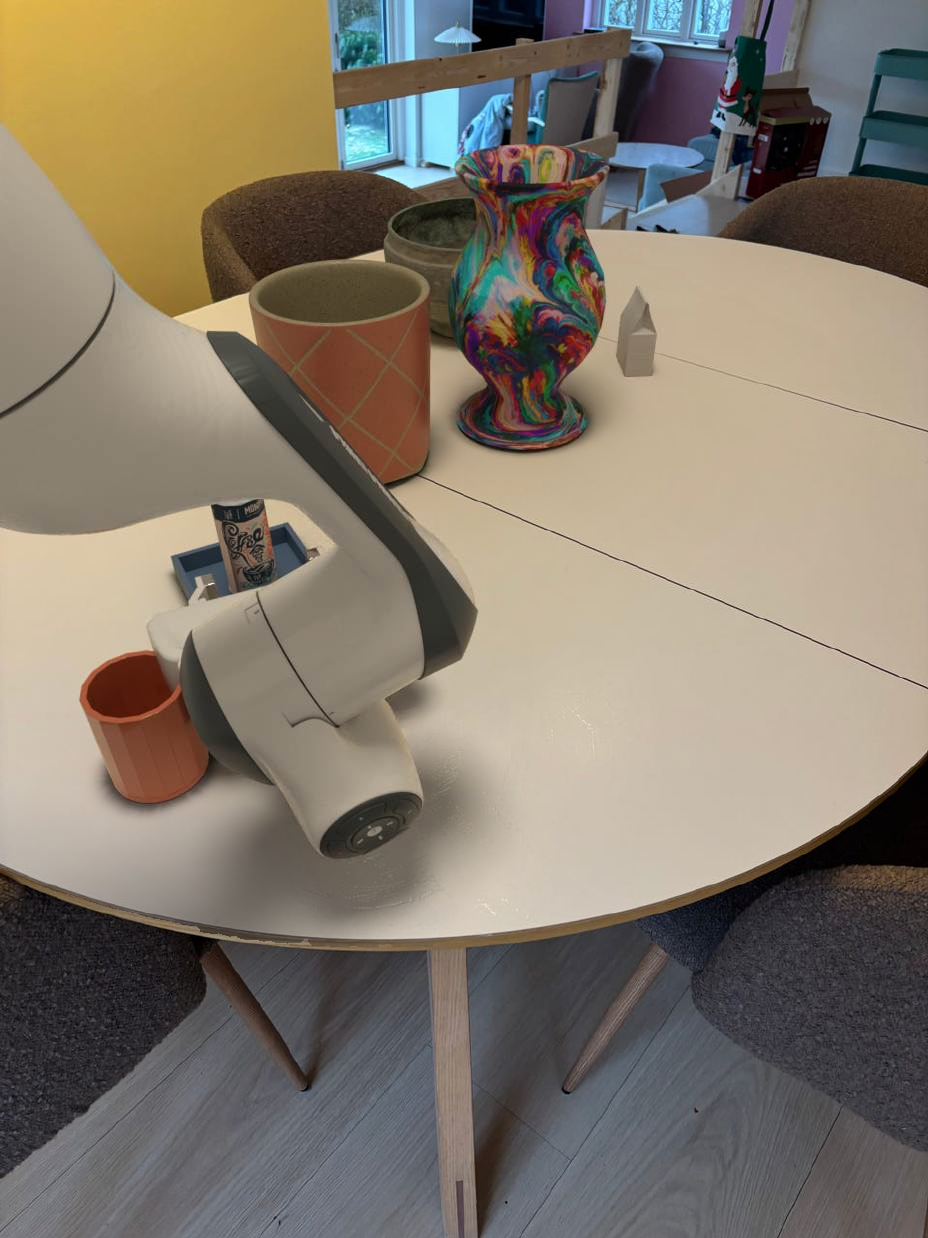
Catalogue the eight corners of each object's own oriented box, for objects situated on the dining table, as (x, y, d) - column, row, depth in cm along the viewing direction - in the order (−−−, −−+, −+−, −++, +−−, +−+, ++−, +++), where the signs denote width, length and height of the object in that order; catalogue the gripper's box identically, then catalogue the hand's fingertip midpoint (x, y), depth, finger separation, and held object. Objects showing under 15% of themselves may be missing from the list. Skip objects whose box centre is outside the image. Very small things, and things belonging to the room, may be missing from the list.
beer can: (245, 609, 85) (222, 502, 77) (220, 585, 87) (195, 480, 80) (288, 588, 87) (270, 482, 79) (263, 566, 90) (242, 461, 82)
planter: (458, 479, 103) (455, 308, 90) (294, 513, 98) (267, 337, 85) (407, 407, 116) (399, 249, 103) (262, 433, 111) (234, 271, 98)
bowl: (385, 286, 149) (378, 190, 140) (539, 279, 151) (543, 184, 141) (392, 370, 125) (385, 260, 115) (576, 361, 127) (585, 252, 117)
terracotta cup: (108, 810, 67) (73, 729, 62) (116, 738, 73) (85, 658, 67) (208, 794, 68) (183, 713, 63) (209, 725, 74) (186, 644, 68)
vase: (584, 464, 105) (610, 191, 86) (434, 447, 108) (425, 181, 89) (601, 394, 119) (626, 145, 99) (467, 381, 122) (466, 137, 102)
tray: (210, 647, 81) (205, 627, 80) (175, 575, 89) (170, 555, 88) (335, 606, 86) (332, 585, 84) (291, 541, 94) (288, 521, 92)
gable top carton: (624, 376, 123) (633, 304, 116) (616, 355, 128) (623, 285, 122) (651, 375, 123) (661, 303, 116) (641, 354, 128) (650, 284, 122)
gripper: (432, 601, 68) (372, 508, 77) (157, 678, 61) (129, 567, 71) (435, 662, 72) (378, 566, 81) (177, 740, 66) (148, 627, 75)
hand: (260, 567), depth 76 cm, fingers open, 8 cm apart
